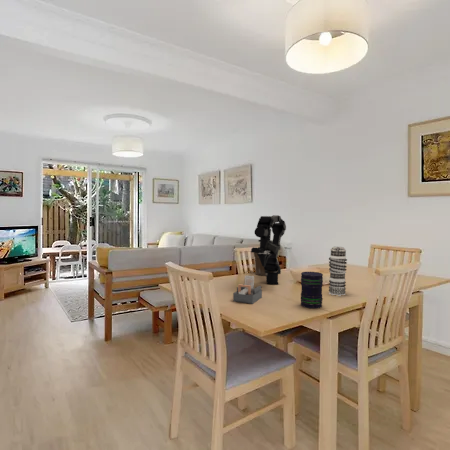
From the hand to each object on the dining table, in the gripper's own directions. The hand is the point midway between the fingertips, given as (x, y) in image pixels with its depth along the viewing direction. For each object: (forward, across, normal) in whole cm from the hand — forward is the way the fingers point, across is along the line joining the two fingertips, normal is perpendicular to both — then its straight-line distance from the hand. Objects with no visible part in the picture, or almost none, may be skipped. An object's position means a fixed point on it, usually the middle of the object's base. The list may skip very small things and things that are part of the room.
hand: (263, 266), depth 183 cm
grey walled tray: (+16, -21, -5) cm, 26 cm away
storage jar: (+16, -10, -33) cm, 38 cm away
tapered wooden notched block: (+12, -24, -5) cm, 27 cm away
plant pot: (+7, +39, +23) cm, 46 cm away
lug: (+12, -26, -6) cm, 29 cm away
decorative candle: (+12, +18, -35) cm, 41 cm away
